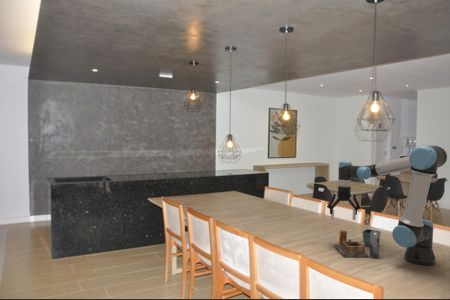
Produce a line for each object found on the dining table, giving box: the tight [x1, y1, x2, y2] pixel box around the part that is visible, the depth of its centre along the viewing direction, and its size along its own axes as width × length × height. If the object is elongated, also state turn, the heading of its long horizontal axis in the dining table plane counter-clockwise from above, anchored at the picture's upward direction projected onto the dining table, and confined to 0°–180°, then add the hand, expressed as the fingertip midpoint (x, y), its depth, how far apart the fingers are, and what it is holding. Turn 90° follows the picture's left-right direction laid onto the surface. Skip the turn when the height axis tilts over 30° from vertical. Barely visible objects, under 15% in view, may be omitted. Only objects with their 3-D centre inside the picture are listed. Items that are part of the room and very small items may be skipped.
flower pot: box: [362, 228, 382, 247], centre depth 213 cm, size 9×9×9 cm
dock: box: [332, 238, 370, 259], centre depth 201 cm, size 14×19×6 cm
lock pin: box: [338, 229, 353, 246], centre depth 204 cm, size 4×20×9 cm, turn 1°
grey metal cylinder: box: [369, 230, 381, 259], centre depth 193 cm, size 5×5×14 cm
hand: (343, 219), depth 213 cm, fingers open, 13 cm apart
